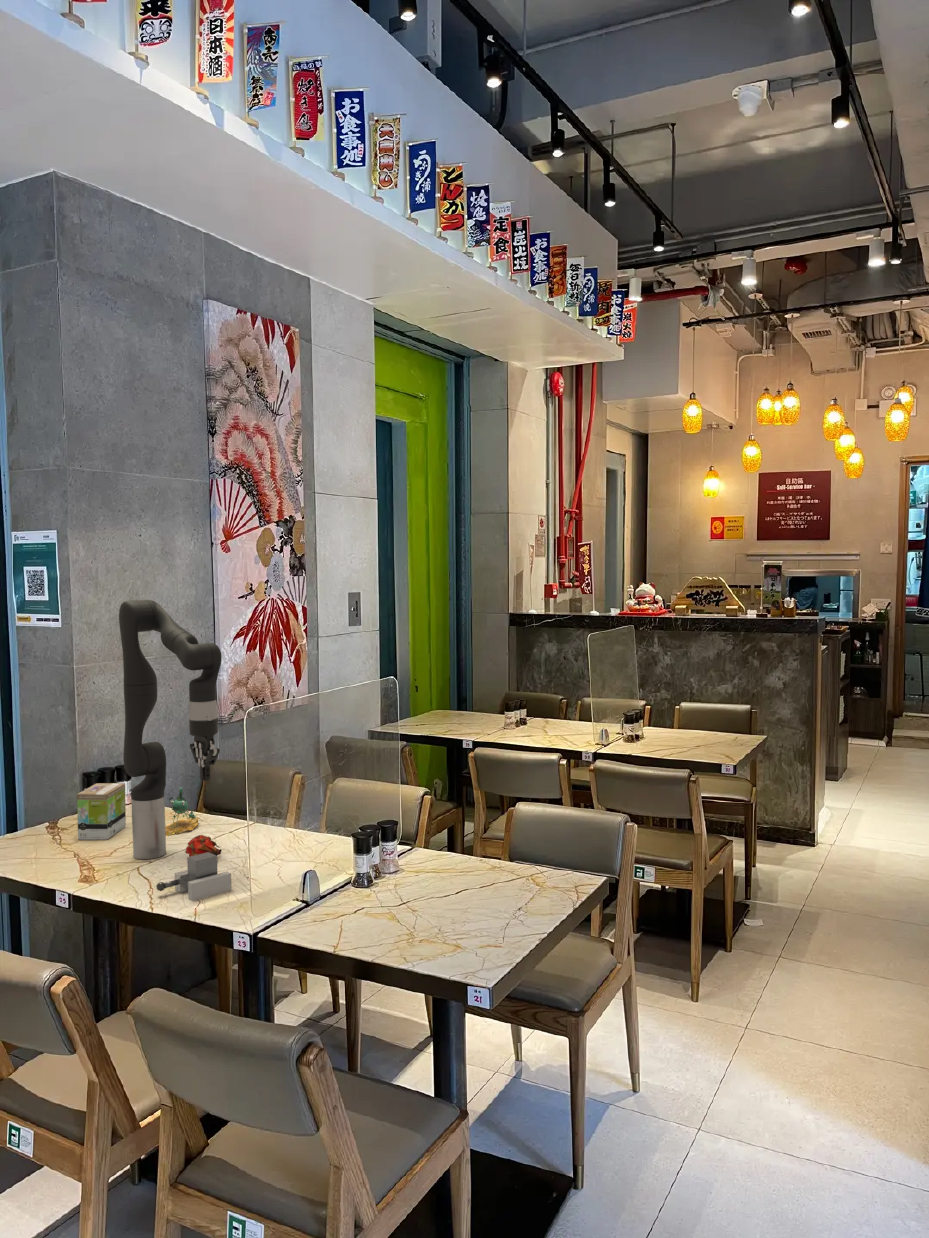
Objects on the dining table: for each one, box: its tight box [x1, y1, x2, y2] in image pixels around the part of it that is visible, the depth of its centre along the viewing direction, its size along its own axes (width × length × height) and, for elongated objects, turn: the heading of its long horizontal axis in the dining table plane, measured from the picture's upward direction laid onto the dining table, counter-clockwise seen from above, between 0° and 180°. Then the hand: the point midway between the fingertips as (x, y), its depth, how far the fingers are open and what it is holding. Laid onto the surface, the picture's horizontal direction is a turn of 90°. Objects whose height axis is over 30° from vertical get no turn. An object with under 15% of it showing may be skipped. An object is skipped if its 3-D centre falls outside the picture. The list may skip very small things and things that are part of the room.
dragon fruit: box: [184, 834, 222, 857], centre depth 270 cm, size 8×8×12 cm
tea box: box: [76, 782, 127, 841], centre depth 300 cm, size 15×10×15 cm
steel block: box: [186, 852, 219, 882], centre depth 243 cm, size 4×6×9 cm
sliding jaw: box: [156, 869, 188, 894], centre depth 244 cm, size 3×16×4 cm, turn 133°
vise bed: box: [187, 871, 232, 902], centre depth 248 cm, size 22×11×6 cm, turn 43°
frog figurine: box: [165, 787, 200, 837], centre depth 303 cm, size 10×18×15 cm, turn 154°
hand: (205, 779), depth 256 cm, fingers closed
